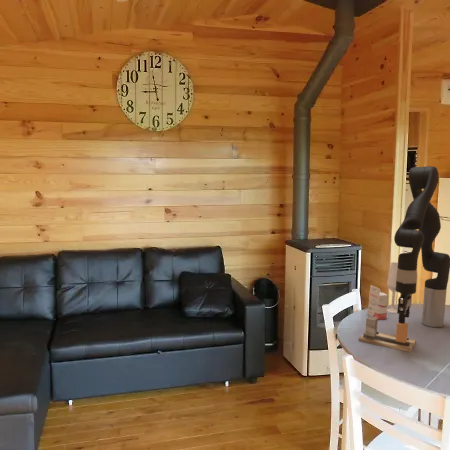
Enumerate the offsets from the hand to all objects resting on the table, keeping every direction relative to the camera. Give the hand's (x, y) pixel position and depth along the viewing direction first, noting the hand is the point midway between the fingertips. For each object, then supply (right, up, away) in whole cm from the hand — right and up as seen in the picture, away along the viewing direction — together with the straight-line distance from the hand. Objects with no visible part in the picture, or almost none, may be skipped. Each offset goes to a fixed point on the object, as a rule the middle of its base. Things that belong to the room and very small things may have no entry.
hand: (403, 320), depth 191 cm
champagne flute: (+13, -5, +49) cm, 51 cm away
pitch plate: (-4, -10, +7) cm, 13 cm away
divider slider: (+1, -9, +4) cm, 10 cm away
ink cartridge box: (+2, -6, +40) cm, 40 cm away
